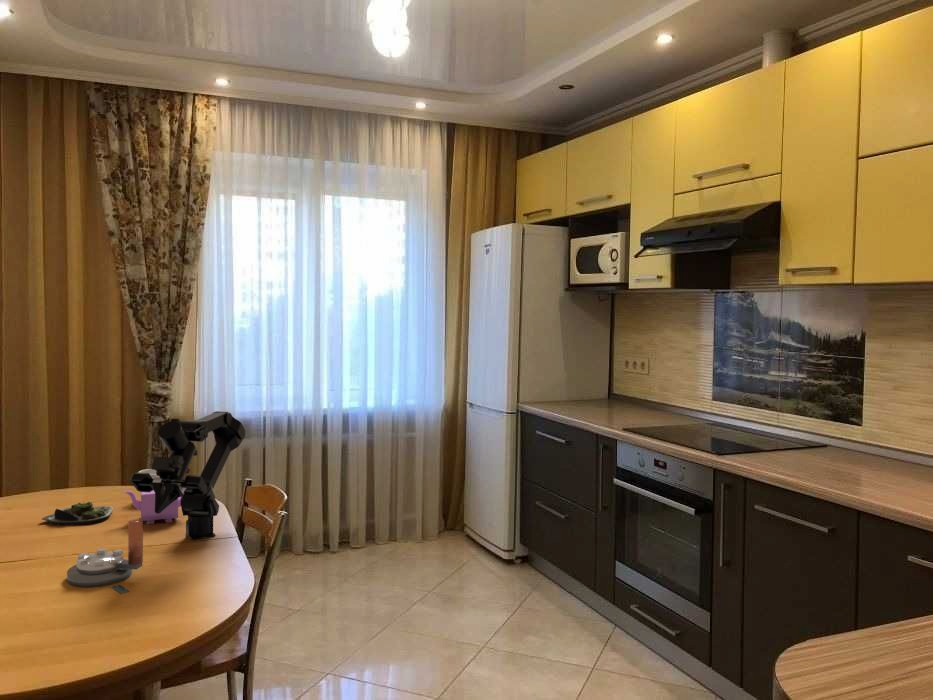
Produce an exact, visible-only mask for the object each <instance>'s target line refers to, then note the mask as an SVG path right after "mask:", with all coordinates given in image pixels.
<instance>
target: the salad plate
mask: <svg viewBox="0 0 933 700" xmlns="http://www.w3.org/2000/svg"><path fill="white" fill-rule="evenodd" d="M113 510H114V508H113V507H112V506H109V505H100V506H99V505H97V506H95V505H94V504H93V502H90V501H88V502H86V501H83V502H78V503H75V504H71V505H70V507H66V508H60V509H59V508H56V509H55V510H54V513H53V514H50V515H46V516H44V517H41V520H42V521H45V522H48V523H50V524H51V525H53V526H65V525H69V526H83V525H84V526H86V525H93V524H98V523H102V522H104V521H106V520H107V519H108V518H109V517H110V516H111V514H112V513H113Z"/></svg>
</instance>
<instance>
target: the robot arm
mask: <svg viewBox="0 0 933 700" xmlns="http://www.w3.org/2000/svg"><path fill="white" fill-rule="evenodd" d="M211 432H212V433H213V437H214V441H215V444H214V447H213V449H212V451H211V453H210V455H209V457H208V458H207V461H206V463H205V465H204V467H203V469H202V471H201V473H200V475H194V474H192V475H191V474H189V473H190V470H191V469H190V468H189V467H190V464H191V463H192V460H193V457H194V456H195V457H197V456H198V450H197V447H196V445H195V444H194V443H195V442H196V443H203V441H204V440H206V439H207V438H208V436H209V433H211ZM157 433H158V436H159V438H160V440H161V441H162V443H163V444H164V446H165V448H166V449H168V450H169V451H170V453H169V456H153V459H152V460H151V461H152V462H151V466H150V469H152V470H153V469H154V470H156V471H157V472H156V474H157V476H160V477H153V478H152V477H151V476H150V474H149V473H139V471H137V472H134V473H133V474H132V475H131V476H130V479H129V481H130V483H131V484H132V486H133V487H134V488H135V490H136V491H137V492H140V493H141V492H151V491H153V490H154V492H155V513H156V514H159V513H161V512H162V511H163V510H164V509H165V508H166V507H167V506H169V505H170V504H171V503H172V502H174V501H175V500H176V499H178V498H180V497H181V501H180V503H181V506H180V508H181V512H182V516H184V517H185V516H186V517H187V519H186V520H185V535H186V536H187V537H188V538H190V539H191V540H192V541H197V540H201V539H206V538H213V537H216V533H214V517H216V516H218V514H219V511H220V510H219V509H220V504H219V502H218V501H217V500H216V494H215V490H214V488H215V485H216V484H217V482H218V479H219V477H220V475H221V472H222V471H223V468H224V466H225V464H226V463H227V460H228V457H230V454H231V452H232V451H234V450H235V449H237V448H239V447H240V445H241V444H242V442H243V441H244V439H245V437H246V428H245V427H244V425H243V424H242V422H241V421H239V420H238V419H236V418H235V416H233V414H232V413H231V412H229V411H221V410H220V411H219V410H218V411H213V412H212V413H210V414H208V415H205V416H203V417H200V418H198V419H182V420H180V418H172V417H171V419H170V421H168V422H165V423H164V424H162V425H161V426H160V427H159V428H158V431H157ZM193 442H194V443H193ZM186 474H188V475H186ZM184 490H185V491H184ZM183 491H184V494H183Z"/></svg>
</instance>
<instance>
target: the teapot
mask: <svg viewBox="0 0 933 700" xmlns="http://www.w3.org/2000/svg"><path fill="white" fill-rule="evenodd" d="M184 491H185V489H184ZM184 491H183V494H184ZM123 493H125V494H127V495H128V496H129V497H130V499H131V502H132V504H133V506H134V508H135V509H136V510H138V511H140V519H141V520H143V522H146V523H145V524H146V525H153V524H154V523H155V521H157V520H164V521H165V523H172V522H174V520H173V519H178V518H179V508H181V503H180V501H181V497H179V498H178V499H176V500H175V501H174V502H172V503H171V504H170V505H169V506H167V507H166V508H165V509H164V510H163V511H162V512H161V513H159V514H156V513H155V492H154V490H153V491H151V492H140V500H139V499H138V498H137V496H136V494H135V493H134V492H133V491H131V490H125V491H123Z"/></svg>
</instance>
